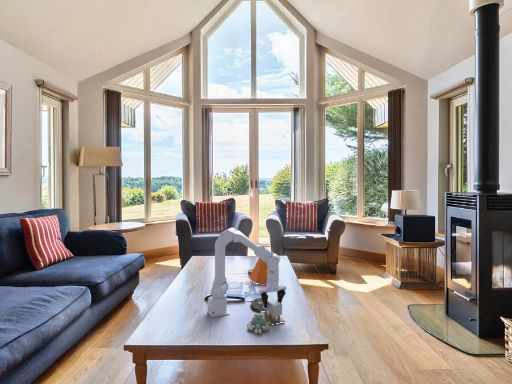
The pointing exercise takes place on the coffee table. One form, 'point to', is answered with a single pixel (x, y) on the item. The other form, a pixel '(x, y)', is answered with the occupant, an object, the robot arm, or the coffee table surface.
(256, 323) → the stuffed animal
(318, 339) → the coffee table surface
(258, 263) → the pyramid
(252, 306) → the geode
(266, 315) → the peg stand
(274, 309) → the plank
